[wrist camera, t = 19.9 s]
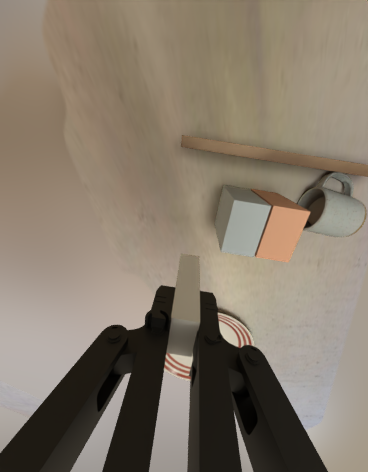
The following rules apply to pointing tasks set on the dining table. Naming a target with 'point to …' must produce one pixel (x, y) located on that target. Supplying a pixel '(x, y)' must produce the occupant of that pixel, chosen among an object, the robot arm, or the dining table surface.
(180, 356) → the dinner plate
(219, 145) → the brown wooden board
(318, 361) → the dining table surface
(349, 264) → the dining table surface
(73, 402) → the robot arm
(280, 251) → the tan rectangular block
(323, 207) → the ceramic mug
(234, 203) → the light grey rectangular block
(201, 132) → the dining table surface
